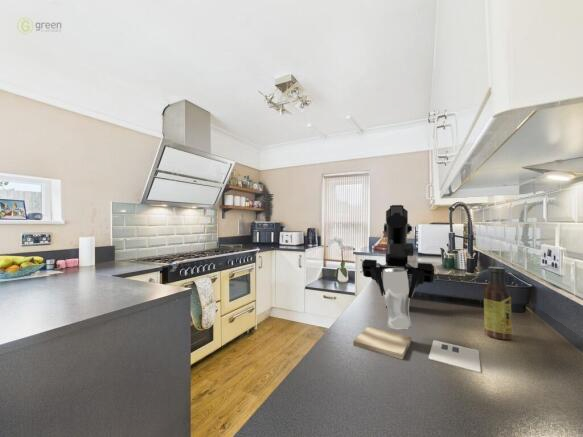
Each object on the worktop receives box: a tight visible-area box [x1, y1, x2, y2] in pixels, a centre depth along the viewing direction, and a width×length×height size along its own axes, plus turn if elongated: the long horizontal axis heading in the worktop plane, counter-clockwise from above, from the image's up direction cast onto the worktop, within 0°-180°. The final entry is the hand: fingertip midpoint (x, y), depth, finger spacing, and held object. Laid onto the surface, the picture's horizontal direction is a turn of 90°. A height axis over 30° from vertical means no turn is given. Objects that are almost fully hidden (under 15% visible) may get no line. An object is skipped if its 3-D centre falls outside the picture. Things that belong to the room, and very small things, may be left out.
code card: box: [427, 339, 482, 374], centre depth 63 cm, size 12×10×1 cm
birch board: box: [352, 326, 412, 360], centre depth 68 cm, size 12×12×1 cm
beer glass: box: [381, 268, 413, 331], centre depth 69 cm, size 7×7×15 cm
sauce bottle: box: [483, 266, 513, 340], centre depth 75 cm, size 6×6×20 cm
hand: (396, 296), depth 68 cm, fingers closed on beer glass, 7 cm apart
